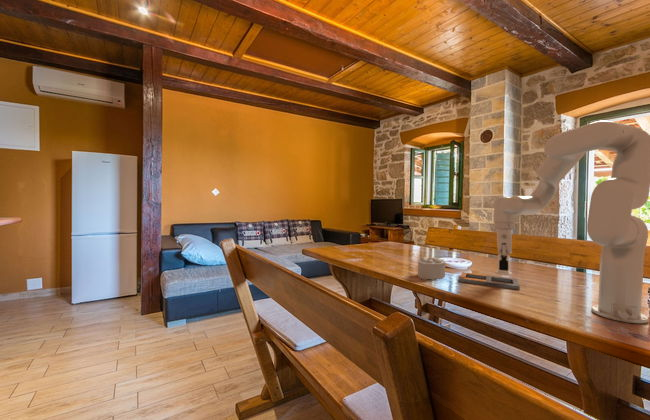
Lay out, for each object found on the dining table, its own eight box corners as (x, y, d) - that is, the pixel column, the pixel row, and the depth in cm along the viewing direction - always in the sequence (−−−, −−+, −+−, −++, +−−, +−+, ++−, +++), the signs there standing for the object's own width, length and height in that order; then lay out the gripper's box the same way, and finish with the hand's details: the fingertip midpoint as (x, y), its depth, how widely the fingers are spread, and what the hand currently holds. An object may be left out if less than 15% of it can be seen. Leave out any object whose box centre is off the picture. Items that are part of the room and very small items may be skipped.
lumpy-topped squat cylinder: (447, 276, 139) (448, 258, 138) (432, 281, 130) (433, 261, 130) (427, 272, 147) (428, 255, 146) (412, 276, 138) (412, 258, 138)
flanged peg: (512, 276, 123) (512, 256, 123) (495, 274, 126) (495, 255, 126) (511, 273, 128) (511, 254, 128) (495, 271, 131) (495, 253, 131)
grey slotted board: (519, 290, 119) (519, 285, 119) (459, 281, 130) (459, 278, 130) (517, 282, 130) (517, 278, 130) (462, 275, 141) (462, 271, 141)
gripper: (515, 227, 117) (515, 274, 118) (513, 225, 132) (513, 266, 132) (493, 227, 121) (493, 271, 121) (494, 224, 136) (493, 264, 136)
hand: (503, 268), depth 127 cm, fingers closed on flanged peg, 4 cm apart
